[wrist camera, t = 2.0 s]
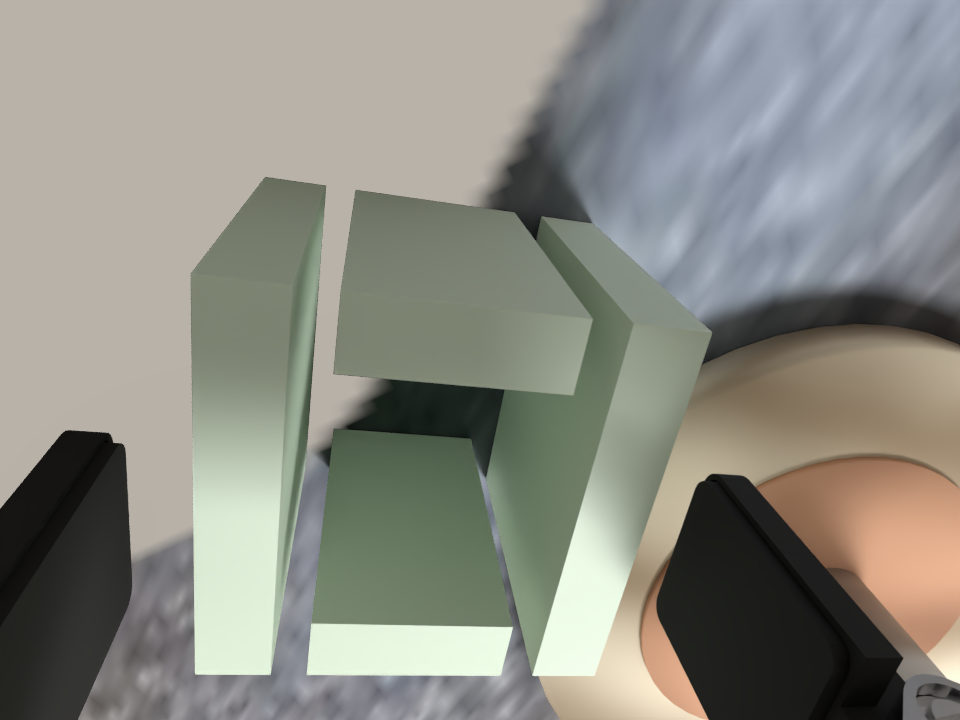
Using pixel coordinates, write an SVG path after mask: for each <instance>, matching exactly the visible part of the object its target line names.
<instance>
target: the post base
mask: <svg viewBox="0 0 960 720" xmlns="http://www.w3.org/2000/svg"><path fill="white" fill-rule="evenodd" d="M710 474H728V475H741V476H745V477H746V478H747V479H749V480H750V482H751V483H752V484H753V485H754V486H755V487H756V488H757V490H758V491H759V492H760V493H761V494H762V495H763V497H764V498H765V499H766V500H767V501H768V502H769V503H770V505H771V506H772V507H773V508H774V509H775V510H776V512H777V513H778V514H779V515H780V516H781V517H782V518H783V520H784V521H785V522H786V523H787V524H788V525H789V527H790V528H791V529H792V530H793V531H794V532H795V533H796V535H797V536H798V537H799V538H800V539H801V540H802V542H803V543H804V544H805V545H806V546H807V547H808V548H809V550H810V551H811V552H812V553H813V554H814V555H815V556H816V558H817V559H818V560H819V561H820V562H821V563H822V565H823V566H824V567H825V568H826V569H827V570H828V571H829V573H830V574H831V575H832V576H833V577H834V578H835V580H836V581H837V582H838V583H839V584H840V585H841V586H842V588H843V589H844V590H845V591H846V592H847V593H848V595H849V596H850V597H851V598H852V599H853V600H854V601H855V603H856V604H857V605H858V606H859V607H860V608H861V610H862V611H863V612H864V613H865V614H866V615H867V616H868V618H869V619H870V620H871V621H872V622H873V623H874V625H875V626H876V627H877V628H878V629H879V630H880V631H881V633H882V634H883V635H884V636H885V637H886V638H887V640H888V641H889V642H890V643H891V644H892V645H893V646H894V648H895V649H896V650H897V651H898V652H899V653H900V655H901V656H902V657H903V660H902V662H901V664H900V665H899V667H898V669H897V671H896V672H897V673H898V674H899V675H900V676H901V678H902V679H903V680H904V681H905V682H906V680H907V679H909V678H911V677H912V676H914V675H920V674H930V675H935V676H940V677H944V678H947V679H949V680H952V681H954V682H957V683H959V684H960V345H959V344H957V343H954V342H951V341H949V340H946V339H943V338H941V337H938V336H935V335H933V334H930V333H927V332H923V331H918V330H913V329H908V328H902V327H897V326H889V325H869V324H849V325H837V326H825V327H816V328H811V329H806V330H801V331H796V332H791V333H786V334H782V335H777V336H774V337H771V338H768V339H765V340H762V341H759V342H756V343H753V344H750V345H746V346H743V347H740V348H738V349H735V350H733V351H731V352H729V353H726V354H724V355H722V356H720V357H718V358H715V359H713V360H711V361H709V362H706V363H704V364H702V365H701V368H700V371H699V374H698V377H697V380H696V382H695V385H694V388H693V391H692V394H691V397H690V400H689V403H688V406H687V409H686V412H685V414H684V417H683V420H682V423H681V426H680V429H679V432H678V435H677V438H676V441H675V443H674V446H673V449H672V452H671V455H670V458H669V461H668V464H667V467H666V470H665V473H664V475H663V478H662V481H661V484H660V487H659V490H658V493H657V496H656V499H655V502H654V505H653V507H652V510H651V513H650V516H649V519H648V522H647V525H646V528H645V531H644V534H643V537H642V539H641V542H640V545H639V548H638V551H637V554H636V557H635V560H634V563H633V566H632V568H631V571H630V574H629V577H628V580H627V583H626V586H625V589H624V592H623V595H622V598H621V600H620V603H619V606H618V609H617V612H616V615H615V618H614V621H613V624H612V627H611V630H610V632H609V635H608V638H607V641H606V644H605V647H604V650H603V653H602V656H601V659H600V661H599V664H598V667H597V670H596V673H595V676H539V678H540V681H541V683H542V686H543V689H544V691H545V694H546V696H547V699H548V701H549V702H550V704H551V706H552V707H553V709H554V710H555V712H556V714H557V715H558V717H559V718H560V720H709V719H708V717H707V715H706V713H705V711H704V709H703V707H702V705H701V703H700V701H699V699H698V697H697V695H696V693H695V691H694V689H693V687H692V685H691V683H690V681H689V679H688V677H687V675H686V673H685V671H684V669H683V667H682V665H681V663H680V661H679V659H678V657H677V655H676V653H675V651H674V649H673V647H672V645H671V643H670V641H669V639H668V637H667V635H666V633H665V631H664V629H663V627H662V625H661V623H660V621H659V618H658V615H657V610H656V601H657V596H658V593H659V590H660V587H661V585H662V582H663V579H664V576H665V573H666V570H667V568H668V565H669V562H670V559H671V556H672V553H673V550H674V548H675V545H676V542H677V539H678V536H679V533H680V531H681V528H682V525H683V522H684V519H685V516H686V513H687V511H688V508H689V505H690V502H691V499H692V496H693V494H694V491H695V488H696V486H697V484H698V483H699V482H701V481H705V479H706V478H707V477H708V476H709V475H710Z"/></svg>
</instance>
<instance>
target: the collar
mask: <svg viewBox="0 0 960 720" xmlns="http://www.w3.org/2000/svg"><path fill="white" fill-rule="evenodd" d="M325 191H326V186H325V185H317V184H311V183H303V182H296V181H289V180H282V179H275V178H268V177H265V178H264V179H263V181H262V182H261V183H260V185H259V186H258V187H257V189H256V190H255V191H254V192H253V194H252V195H251V196H250V198H249V199H248V200H247V202H246V203H245V204H244V205H243V207H242V208H241V209H240V211H239V212H238V213H237V214H236V216H235V217H234V218H233V220H232V221H231V222H230V224H229V225H228V226H227V227H226V229H225V230H224V231H223V233H222V234H221V235H220V236H219V238H218V239H217V241H216V242H215V243H214V244H213V246H212V247H211V248H210V250H209V251H208V252H207V253H206V255H205V256H204V257H203V259H202V260H201V261H200V263H199V264H198V265H197V266H196V268H195V269H194V270H193V272H192V273H191V332H192V333H191V335H192V336H191V337H192V421H193V422H192V427H193V513H194V514H193V515H194V608H195V674H211V675H270V674H271V669H272V663H273V657H274V651H275V645H276V639H277V633H278V627H279V621H280V615H281V609H282V603H283V597H284V592H285V586H286V580H287V574H288V568H289V562H290V556H291V550H292V544H293V538H294V532H295V526H296V521H297V515H298V509H299V503H300V497H301V491H302V485H303V479H304V473H305V466H306V453H307V439H308V425H309V412H310V398H311V384H312V371H313V357H314V343H315V330H316V316H317V302H318V289H319V275H320V262H321V247H322V233H323V221H324V207H325V193H326V192H325ZM711 336H712V332H711V331H710V330H709V329H708V328H707V327H706V326H705V325H704V324H703V323H702V322H700V321H699V320H698V319H697V318H696V317H695V316H694V315H693V314H692V313H691V312H689V311H688V310H687V309H686V308H685V307H684V306H683V305H682V304H681V303H680V302H679V301H677V300H676V299H675V298H674V297H673V296H672V295H671V294H670V293H669V292H668V291H666V290H665V289H664V288H663V287H662V286H661V285H660V284H659V283H658V282H657V281H656V280H654V279H653V278H652V277H651V276H650V275H649V274H648V273H647V272H646V271H645V270H643V269H642V268H641V267H640V266H639V265H638V264H637V263H636V262H635V261H634V260H633V259H631V258H630V257H629V256H628V255H627V254H626V253H625V252H624V251H623V250H622V249H620V248H619V247H618V246H617V245H616V244H615V243H614V242H613V241H612V240H611V239H610V238H608V237H607V236H606V235H605V234H604V233H603V232H602V231H601V230H600V229H599V228H597V227H596V226H595V225H594V224H592V223H585V222H578V221H571V220H564V219H557V218H550V217H543V216H541V220H540V225H539V229H538V234H537V239H536V241H535V239H534V238H533V237H532V235H531V234H530V233H529V231H528V230H527V229H526V227H525V226H524V224H523V223H522V222H521V220H520V219H519V218H518V216H517V215H516V214H515V212H508V211H501V210H494V209H487V208H480V207H473V206H466V205H458V204H451V203H444V202H437V201H430V200H422V199H416V198H409V197H402V196H395V195H388V194H381V193H374V192H367V191H360V190H356V191H355V198H354V205H353V211H352V218H351V225H350V232H349V238H348V246H347V252H346V259H345V266H344V272H343V279H342V286H341V294H340V305H339V317H338V328H337V339H336V350H335V362H334V373H333V374H337V375H348V376H360V377H371V378H382V379H393V380H404V381H416V382H427V383H438V384H449V385H461V386H472V387H483V388H494V389H505V391H504V396H503V400H502V405H501V410H500V415H499V419H498V424H497V429H496V434H495V438H494V443H493V448H492V453H491V457H490V462H489V467H488V472H487V476H486V482H487V486H488V490H489V494H490V499H491V503H492V507H493V511H494V516H495V520H496V524H497V528H498V532H499V537H500V541H501V545H502V549H503V554H504V558H505V562H506V566H507V571H508V575H509V579H510V583H511V588H512V592H513V596H514V600H515V605H516V609H517V613H518V617H519V621H520V626H521V630H522V634H523V638H524V643H525V647H526V651H527V655H528V660H529V664H530V668H531V672H532V676H595V673H596V670H597V667H598V664H599V661H600V659H601V656H602V653H603V650H604V647H605V644H606V641H607V638H608V635H609V632H610V630H611V627H612V624H613V621H614V618H615V615H616V612H617V609H618V606H619V603H620V600H621V598H622V595H623V592H624V589H625V586H626V583H627V580H628V577H629V574H630V571H631V568H632V566H633V563H634V560H635V557H636V554H637V551H638V548H639V545H640V542H641V539H642V537H643V534H644V531H645V528H646V525H647V522H648V519H649V516H650V513H651V510H652V507H653V505H654V502H655V499H656V496H657V493H658V490H659V487H660V484H661V481H662V478H663V475H664V473H665V470H666V467H667V464H668V461H669V458H670V455H671V452H672V449H673V446H674V443H675V441H676V438H677V435H678V432H679V429H680V426H681V423H682V420H683V417H684V414H685V412H686V409H687V406H688V403H689V400H690V397H691V394H692V391H693V388H694V385H695V382H696V380H697V377H698V374H699V371H700V368H701V365H702V362H703V359H704V356H705V353H706V350H707V348H708V345H709V342H710V339H711ZM512 629H513V625H512V621H511V616H510V612H509V607H508V603H507V598H506V594H505V589H504V585H503V580H502V576H501V571H500V567H499V562H498V558H497V553H496V549H495V544H494V540H493V536H492V531H491V527H490V522H489V518H488V513H487V509H486V504H485V500H484V495H483V491H482V486H481V482H480V477H479V473H478V468H477V464H476V459H475V455H474V450H473V446H472V441H471V439H467V438H454V437H440V436H427V435H413V434H399V433H386V432H372V431H359V430H345V429H334V431H333V440H332V448H331V457H330V466H329V475H328V483H327V492H326V501H325V509H324V518H323V527H322V536H321V544H320V553H319V562H318V571H317V579H316V588H315V597H314V605H313V614H312V623H311V634H310V645H309V657H308V668H307V675H461V676H500V675H501V671H502V667H503V664H504V660H505V656H506V652H507V648H508V644H509V640H510V637H511V633H512Z"/></svg>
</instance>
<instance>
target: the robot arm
mask: <svg viewBox="0 0 960 720" xmlns="http://www.w3.org/2000/svg"><path fill="white" fill-rule="evenodd" d="M131 591H132V570H131V550H130V530H129V511H128V491H127V471H126V452H125V447H124V445H123V444H119V443H113V440H112V437H111V435H110V434H109V433H102V432H101V433H100V432H86V431H71V430H68V431H65V432H63V433H62V434H61V435H60V437H59V438H58V439H57V440H56V442H55V443H54V444H53V445H52V446H51V448H50V449H49V450H48V451H47V452H46V454H45V455H44V456H43V458H42V459H41V460H40V461H39V462H38V464H37V465H36V466H35V467H34V468H33V470H32V471H31V472H30V473H29V475H28V476H27V477H26V478H25V479H24V481H23V482H22V483H21V484H20V486H19V487H18V488H17V489H16V491H15V492H14V493H13V494H12V495H11V497H10V498H9V499H8V500H7V501H6V503H5V504H4V505H3V506H2V508H1V509H0V720H78V718H79V716H80V713H81V711H82V709H83V707H84V704H85V702H86V700H87V698H88V695H89V693H90V691H91V689H92V686H93V684H94V682H95V680H96V677H97V675H98V673H99V671H100V668H101V666H102V664H103V662H104V659H105V657H106V655H107V653H108V650H109V648H110V646H111V644H112V641H113V639H114V637H115V635H116V632H117V630H118V628H119V626H120V623H121V621H122V619H123V617H124V614H125V612H126V610H127V607H128V605H129V601H130V597H131ZM656 610H657V615H658V618H659V621H660V623H661V625H662V627H663V629H664V631H665V633H666V635H667V637H668V639H669V641H670V643H671V645H672V647H673V649H674V651H675V653H676V655H677V657H678V659H679V661H680V663H681V665H682V667H683V669H684V671H685V673H686V675H687V677H688V679H689V681H690V683H691V685H692V687H693V689H694V691H695V693H696V695H697V697H698V699H699V701H700V703H701V705H702V707H703V709H704V711H705V713H706V715H707V717H708V719H709V720H960V684H959V683H957V682H954V681H952V680H949V679H947V678H944V677H940V676H935V675H930V674H920V675H914V676H912V677H911V678H909V679H907V680H906V682H905V681H904V680H903V679H902V678H901V676H900V675H899V674H898V673H897V672H896V671H897V669H898V667H899V665H900V664H901V662H902V660H903V657H902V656H901V655H900V653H899V652H898V651H897V650H896V649H895V648H894V646H893V645H892V644H891V643H890V642H889V641H888V640H887V638H886V637H885V636H884V635H883V634H882V633H881V631H880V630H879V629H878V628H877V627H876V626H875V625H874V623H873V622H872V621H871V620H870V619H869V618H868V616H867V615H866V614H865V613H864V612H863V611H862V610H861V608H860V607H859V606H858V605H857V604H856V603H855V601H854V600H853V599H852V598H851V597H850V596H849V595H848V593H847V592H846V591H845V590H844V589H843V588H842V586H841V585H840V584H839V583H838V582H837V581H836V580H835V578H834V577H833V576H832V575H831V574H830V573H829V571H828V570H827V569H826V568H825V567H824V566H823V565H822V563H821V562H820V561H819V560H818V559H817V558H816V556H815V555H814V554H813V553H812V552H811V551H810V550H809V548H808V547H807V546H806V545H805V544H804V543H803V542H802V540H801V539H800V538H799V537H798V536H797V535H796V533H795V532H794V531H793V530H792V529H791V528H790V527H789V525H788V524H787V523H786V522H785V521H784V520H783V518H782V517H781V516H780V515H779V514H778V513H777V512H776V510H775V509H774V508H773V507H772V506H771V505H770V503H769V502H768V501H767V500H766V499H765V498H764V497H763V495H762V494H761V493H760V492H759V491H758V490H757V488H756V487H755V486H754V485H753V484H752V483H751V482H750V480H749V479H747V478H746V477H745V476H741V475H728V474H710V475H709V476H708V477H707V478H706V479H705V481H701V482H699V483H698V484H697V486H696V488H695V491H694V494H693V496H692V499H691V502H690V505H689V508H688V511H687V513H686V516H685V519H684V522H683V525H682V528H681V531H680V533H679V536H678V539H677V542H676V545H675V548H674V550H673V553H672V556H671V559H670V562H669V565H668V568H667V570H666V573H665V576H664V579H663V582H662V585H661V587H660V590H659V593H658V596H657V601H656Z"/></svg>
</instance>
